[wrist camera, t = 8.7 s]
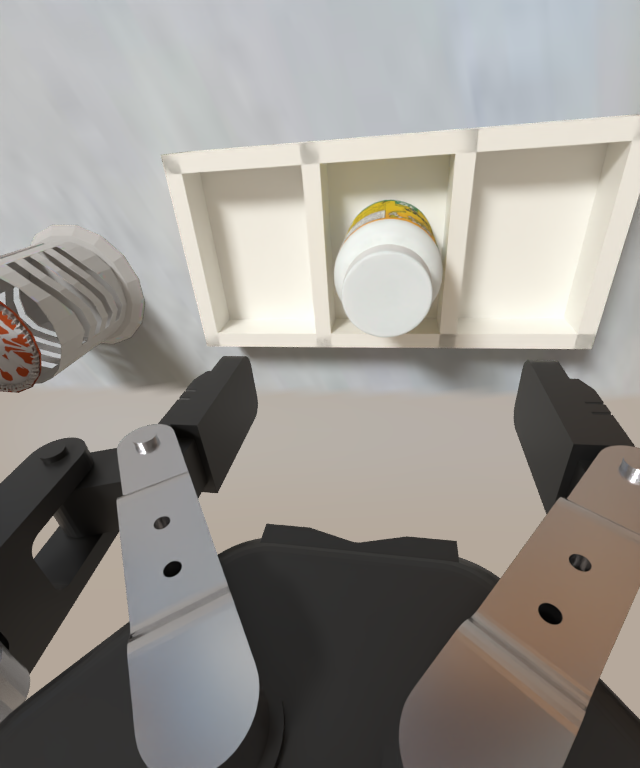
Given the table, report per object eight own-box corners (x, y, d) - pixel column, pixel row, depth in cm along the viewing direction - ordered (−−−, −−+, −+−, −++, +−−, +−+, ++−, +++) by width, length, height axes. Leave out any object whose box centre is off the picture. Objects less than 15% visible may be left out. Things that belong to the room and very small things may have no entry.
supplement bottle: (331, 228, 26) (301, 274, 18) (408, 178, 24) (413, 204, 16) (373, 299, 28) (362, 368, 20) (447, 258, 26) (469, 318, 18)
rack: (628, 115, 21) (664, 113, 19) (571, 325, 28) (591, 349, 25) (187, 151, 26) (160, 154, 23) (224, 326, 32) (207, 346, 29)
